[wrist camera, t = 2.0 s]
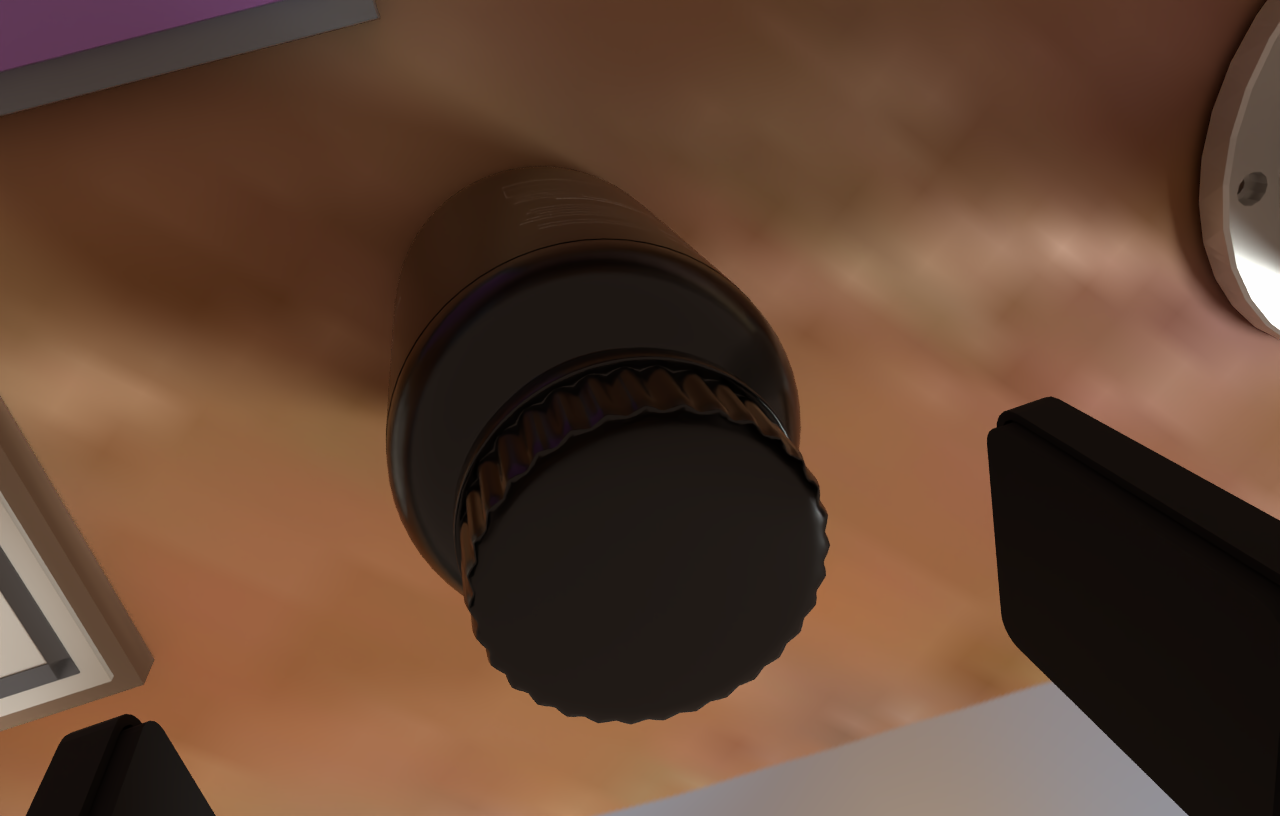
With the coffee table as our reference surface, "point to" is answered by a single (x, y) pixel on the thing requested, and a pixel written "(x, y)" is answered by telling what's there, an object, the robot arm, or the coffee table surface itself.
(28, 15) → the ink pad
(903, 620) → the coffee table surface
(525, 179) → the supplement bottle
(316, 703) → the coffee table surface
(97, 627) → the white square tile
